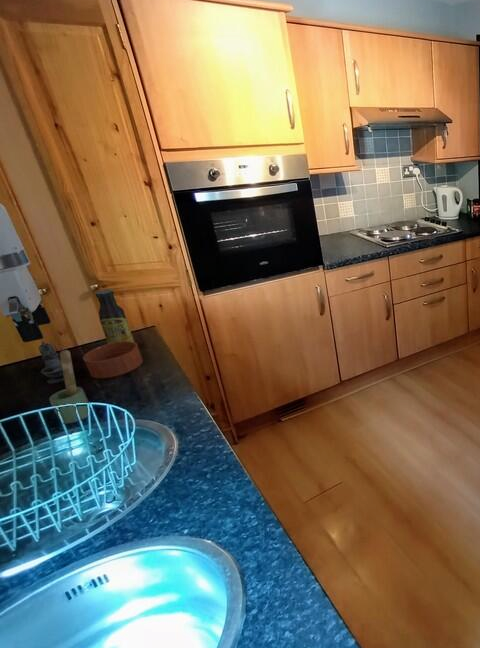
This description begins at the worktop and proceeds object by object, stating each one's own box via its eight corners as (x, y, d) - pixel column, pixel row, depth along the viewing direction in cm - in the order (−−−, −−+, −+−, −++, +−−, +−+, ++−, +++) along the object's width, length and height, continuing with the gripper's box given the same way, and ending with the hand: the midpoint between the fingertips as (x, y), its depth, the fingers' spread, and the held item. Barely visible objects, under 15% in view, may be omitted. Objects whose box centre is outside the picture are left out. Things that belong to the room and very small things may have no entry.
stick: (70, 418, 111) (58, 352, 106) (71, 414, 113) (59, 349, 107) (80, 416, 112) (68, 351, 107) (81, 412, 114) (70, 348, 108)
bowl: (88, 384, 126) (80, 366, 123) (92, 366, 135) (85, 348, 132) (143, 371, 132) (136, 353, 130) (143, 354, 141) (137, 337, 139)
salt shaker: (73, 370, 132) (56, 334, 128) (74, 378, 129) (57, 341, 124) (45, 378, 129) (27, 341, 124) (46, 386, 125) (27, 348, 120)
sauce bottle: (108, 355, 141) (84, 296, 132) (114, 346, 146) (92, 289, 138) (133, 351, 143) (111, 293, 135) (139, 342, 148) (118, 286, 140)
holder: (59, 428, 109) (47, 404, 106) (62, 415, 113) (51, 392, 111) (91, 419, 112) (81, 395, 109) (94, 406, 117) (83, 384, 114)
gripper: (-11, 254, 101) (23, 323, 107) (-35, 275, 88) (5, 352, 95) (35, 248, 105) (65, 315, 112) (19, 268, 92) (54, 341, 99)
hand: (38, 332), depth 103 cm, fingers open, 9 cm apart
